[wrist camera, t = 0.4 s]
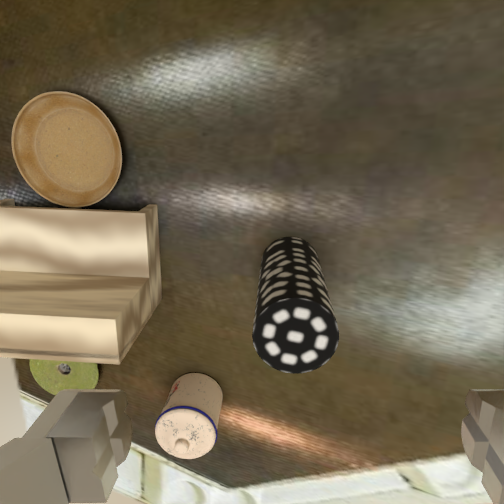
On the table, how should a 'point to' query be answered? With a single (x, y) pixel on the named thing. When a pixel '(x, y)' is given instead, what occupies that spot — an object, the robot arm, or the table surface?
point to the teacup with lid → (190, 416)
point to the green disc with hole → (64, 374)
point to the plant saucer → (66, 149)
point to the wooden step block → (76, 281)
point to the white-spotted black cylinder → (293, 309)
